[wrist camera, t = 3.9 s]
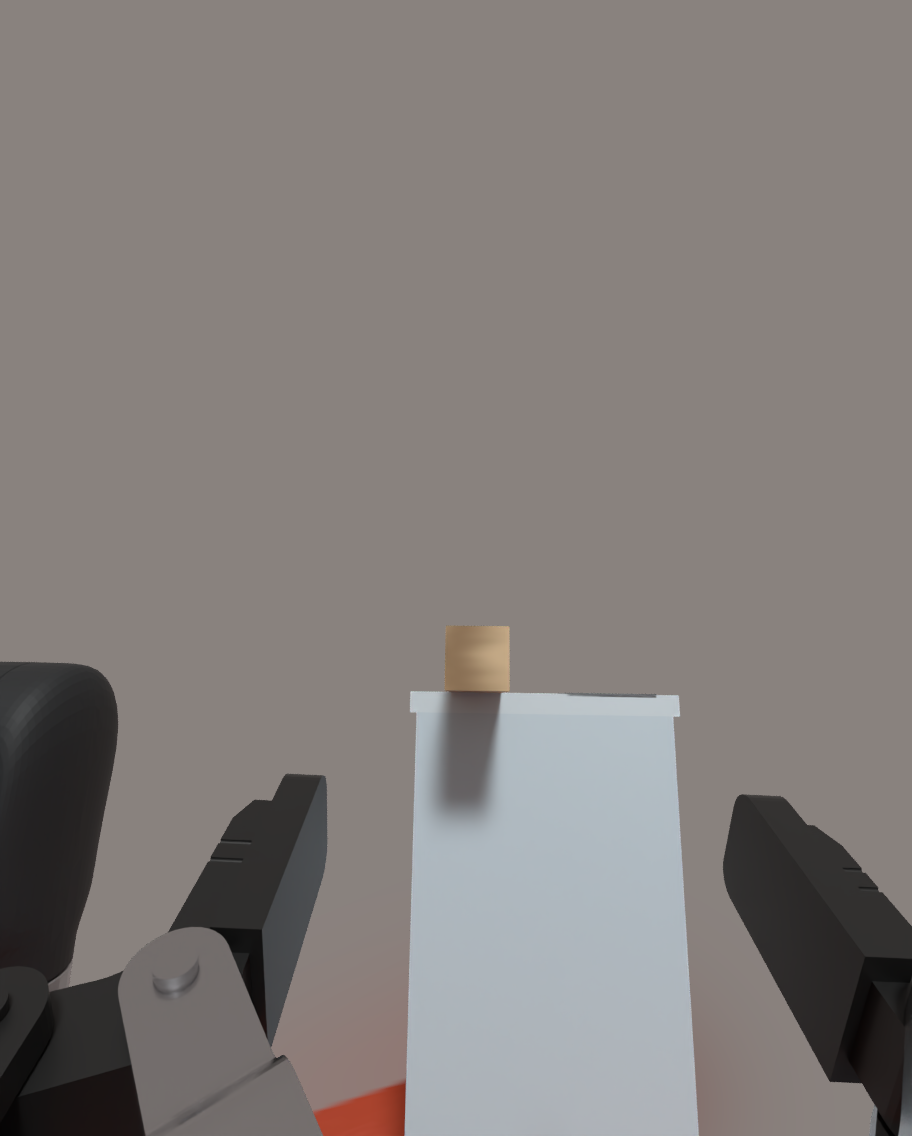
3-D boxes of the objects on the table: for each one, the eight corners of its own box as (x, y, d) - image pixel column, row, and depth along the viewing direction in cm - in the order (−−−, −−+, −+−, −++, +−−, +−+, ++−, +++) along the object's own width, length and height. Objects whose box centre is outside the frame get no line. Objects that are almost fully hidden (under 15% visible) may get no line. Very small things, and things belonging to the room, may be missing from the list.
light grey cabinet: (389, 1371, 29) (410, 690, 35) (415, 1164, 41) (426, 692, 48) (740, 1389, 28) (692, 694, 35) (656, 1173, 41) (633, 695, 48)
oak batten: (444, 690, 27) (445, 625, 28) (456, 693, 49) (457, 657, 50) (509, 691, 27) (509, 626, 28) (493, 694, 49) (493, 657, 50)
